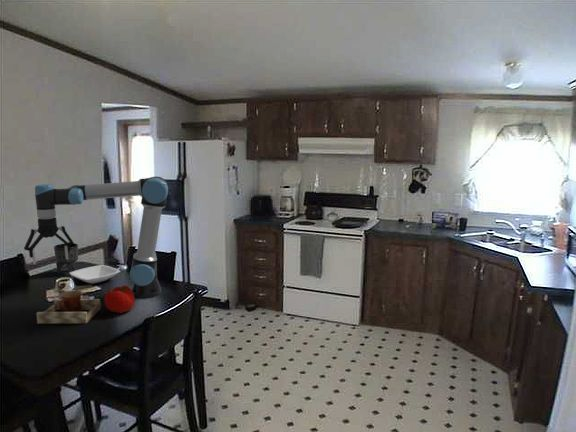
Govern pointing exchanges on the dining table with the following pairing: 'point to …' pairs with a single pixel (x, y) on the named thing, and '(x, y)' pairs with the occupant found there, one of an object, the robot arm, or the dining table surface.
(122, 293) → the tomato
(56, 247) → the planter
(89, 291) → the dining table surface
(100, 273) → the bowl
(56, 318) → the tan wooden shallow box
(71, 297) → the mug
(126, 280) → the dining table surface
